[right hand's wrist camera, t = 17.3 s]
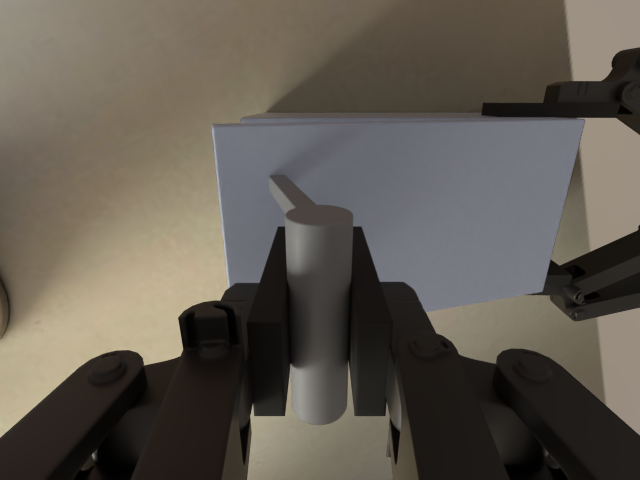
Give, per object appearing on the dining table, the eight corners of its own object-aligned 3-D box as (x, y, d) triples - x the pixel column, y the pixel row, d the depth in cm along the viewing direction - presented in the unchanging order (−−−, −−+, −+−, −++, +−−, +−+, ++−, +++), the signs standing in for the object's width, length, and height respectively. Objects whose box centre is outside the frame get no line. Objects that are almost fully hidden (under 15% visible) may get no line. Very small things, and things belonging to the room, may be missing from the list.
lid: (232, 330, 18) (251, 489, 11) (211, 123, 15) (218, 148, 7) (526, 282, 23) (679, 369, 16) (563, 117, 20) (785, 129, 12)
